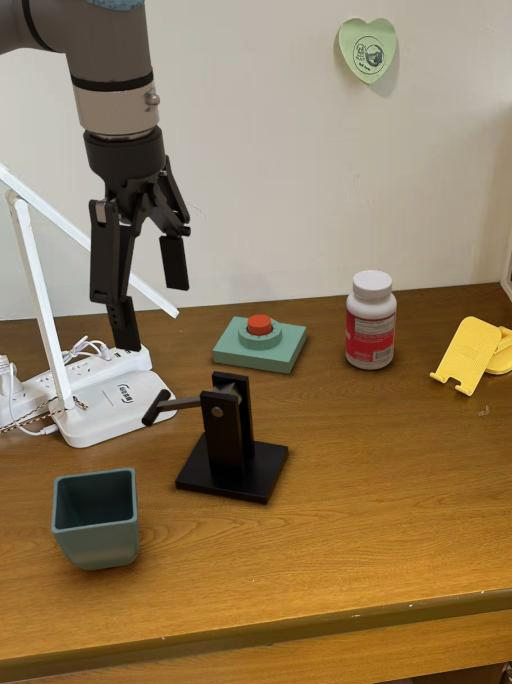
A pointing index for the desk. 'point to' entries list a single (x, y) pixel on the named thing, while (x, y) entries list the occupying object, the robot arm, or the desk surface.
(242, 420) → the bracket
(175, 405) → the lever
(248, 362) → the button box
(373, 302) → the pill bottle
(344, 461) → the desk surface
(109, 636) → the desk surface
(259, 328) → the button
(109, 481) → the flower pot
